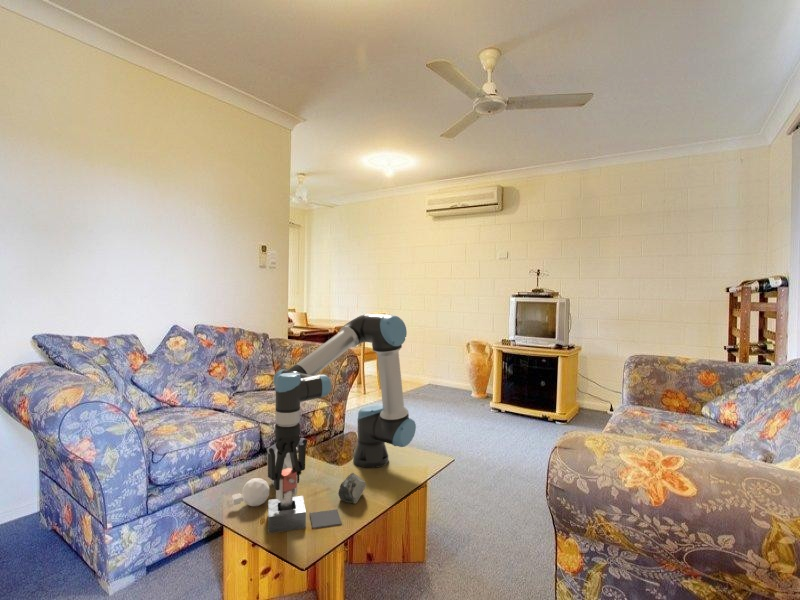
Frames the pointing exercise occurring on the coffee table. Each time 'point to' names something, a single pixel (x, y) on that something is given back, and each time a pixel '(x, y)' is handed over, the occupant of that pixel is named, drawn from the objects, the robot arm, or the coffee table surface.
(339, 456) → the coffee table surface
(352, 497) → the stone
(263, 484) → the perfume bottle
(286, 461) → the mug
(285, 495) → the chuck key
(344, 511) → the coffee table surface
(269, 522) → the block
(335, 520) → the mat
